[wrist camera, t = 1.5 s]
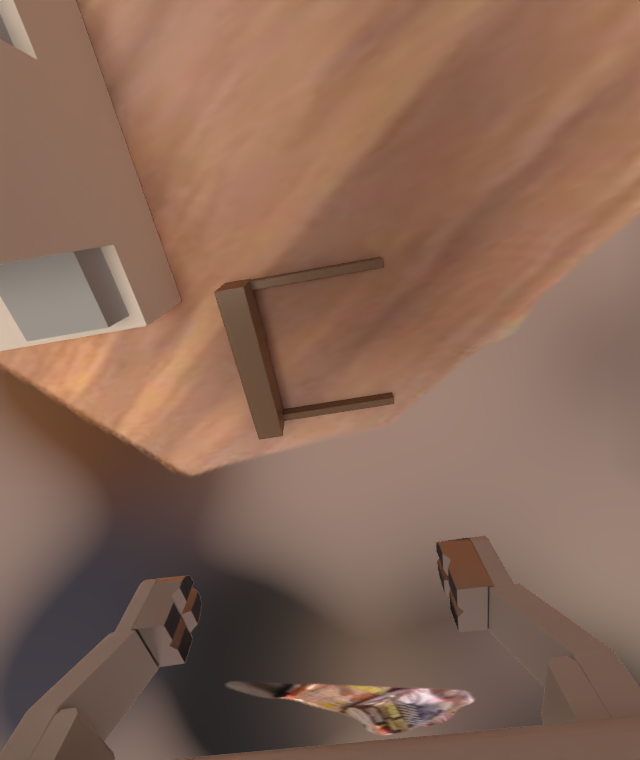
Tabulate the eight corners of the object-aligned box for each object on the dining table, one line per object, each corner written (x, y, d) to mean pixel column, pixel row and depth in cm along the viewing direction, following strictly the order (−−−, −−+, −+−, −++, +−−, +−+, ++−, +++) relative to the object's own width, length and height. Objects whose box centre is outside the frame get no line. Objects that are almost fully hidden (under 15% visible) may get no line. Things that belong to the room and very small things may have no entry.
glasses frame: (224, 283, 33) (214, 292, 29) (380, 255, 32) (389, 261, 29) (263, 419, 40) (259, 439, 36) (392, 399, 39) (400, 418, 36)
